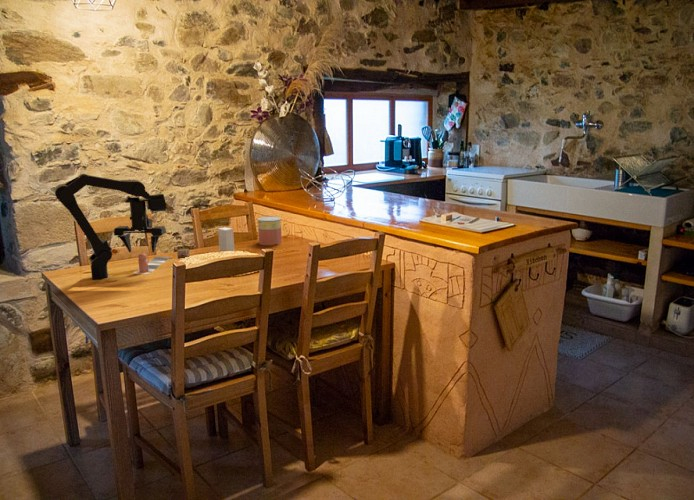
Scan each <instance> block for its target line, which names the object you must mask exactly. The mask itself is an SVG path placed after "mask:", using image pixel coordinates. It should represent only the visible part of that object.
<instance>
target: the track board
mask: <svg viewBox="0 0 694 500" xmlns="http://www.w3.org/2000/svg"><path fill="white" fill-rule="evenodd" d="M171 259H173V258H172V257H170V256H162V257H161V256H159V257H158V256H155V257H154V258H152V259H151V260H149V261H148V270H149V271H148V272H145V273H141V272H140V271H139V269H137V270H136V271H134V272H133V273H132V274H133V275H147V274H148V275H150V274H151V273H152V272H153V271H155V270H156V269H157V268H159V267H161V266H162V265H163V264H164V263H165V262H166V261H169V260H171Z"/></svg>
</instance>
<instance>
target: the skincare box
mask: <svg viewBox="0 0 694 500" xmlns="http://www.w3.org/2000/svg"><path fill="white" fill-rule="evenodd" d="M217 232H218V248H219V251H218V252H219V253H220V251H234V252H235V242H234V241H235V240H234V239H235V238H234V236H235V235H234V229H233V228H231V227H230V228H229V227H220V228H218V230H217Z"/></svg>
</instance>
